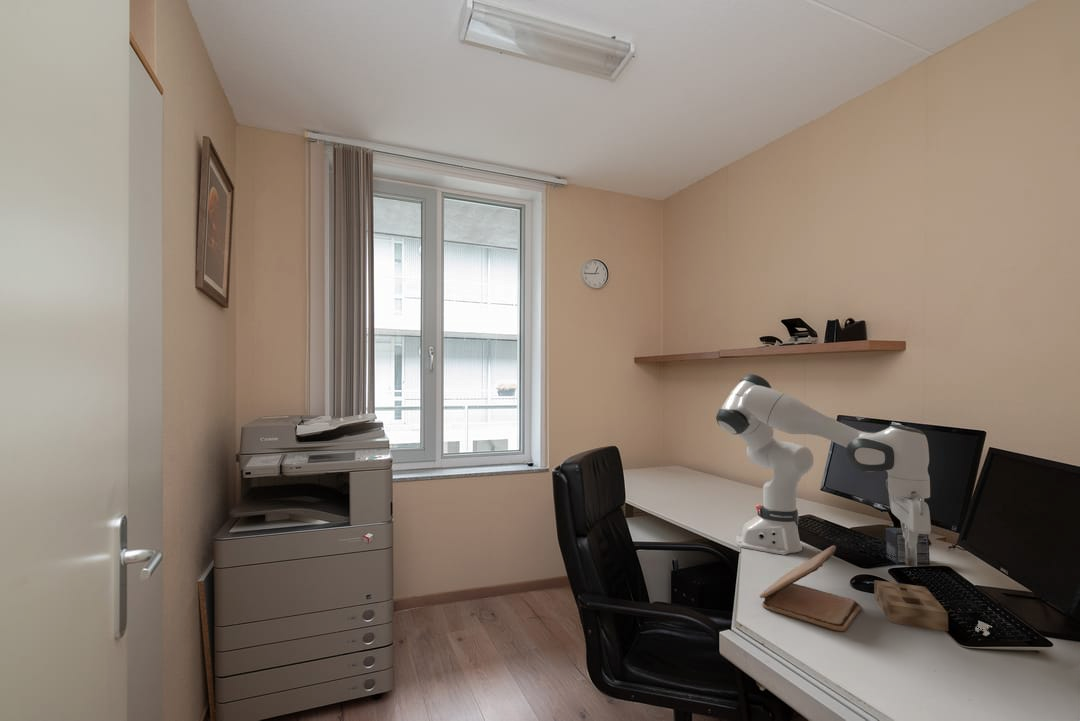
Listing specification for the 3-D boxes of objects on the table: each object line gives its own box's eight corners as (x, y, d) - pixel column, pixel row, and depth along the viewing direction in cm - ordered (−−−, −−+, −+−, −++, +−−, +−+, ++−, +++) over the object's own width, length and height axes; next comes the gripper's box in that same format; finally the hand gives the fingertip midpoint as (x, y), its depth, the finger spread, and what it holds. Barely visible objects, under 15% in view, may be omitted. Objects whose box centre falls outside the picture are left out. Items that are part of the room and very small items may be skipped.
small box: (917, 557, 169) (917, 527, 169) (931, 565, 163) (930, 533, 163) (885, 557, 170) (884, 526, 170) (897, 564, 164) (896, 532, 164)
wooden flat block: (890, 622, 126) (889, 604, 126) (874, 595, 140) (874, 580, 141) (948, 631, 121) (947, 612, 121) (925, 603, 136) (925, 586, 136)
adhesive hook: (974, 633, 121) (973, 620, 121) (980, 630, 122) (979, 618, 122) (989, 639, 118) (989, 626, 118) (995, 636, 119) (994, 623, 119)
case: (783, 584, 149) (781, 531, 149) (864, 607, 134) (862, 548, 134) (756, 608, 135) (754, 549, 135) (843, 636, 120) (841, 570, 120)
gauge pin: (918, 567, 126) (916, 524, 127) (907, 565, 127) (905, 523, 128) (915, 563, 128) (913, 521, 129) (904, 562, 129) (902, 520, 130)
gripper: (938, 498, 118) (939, 556, 117) (911, 481, 137) (912, 531, 136) (906, 496, 120) (907, 553, 120) (884, 479, 139) (885, 528, 139)
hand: (910, 541), depth 128 cm, fingers closed on gauge pin, 2 cm apart
